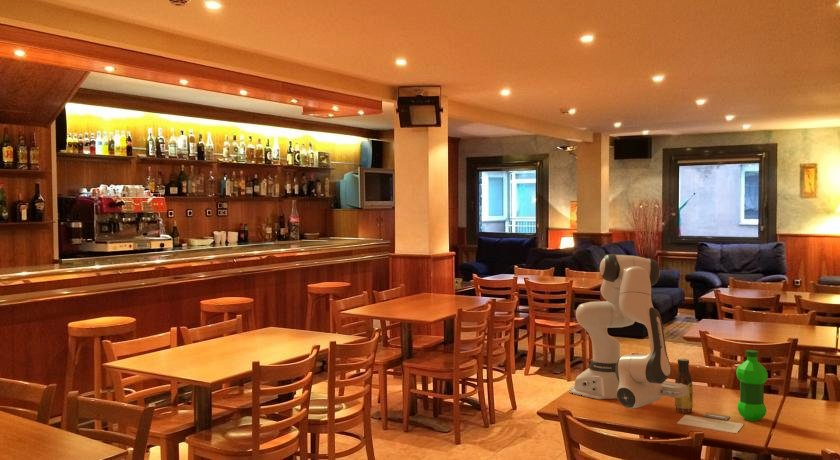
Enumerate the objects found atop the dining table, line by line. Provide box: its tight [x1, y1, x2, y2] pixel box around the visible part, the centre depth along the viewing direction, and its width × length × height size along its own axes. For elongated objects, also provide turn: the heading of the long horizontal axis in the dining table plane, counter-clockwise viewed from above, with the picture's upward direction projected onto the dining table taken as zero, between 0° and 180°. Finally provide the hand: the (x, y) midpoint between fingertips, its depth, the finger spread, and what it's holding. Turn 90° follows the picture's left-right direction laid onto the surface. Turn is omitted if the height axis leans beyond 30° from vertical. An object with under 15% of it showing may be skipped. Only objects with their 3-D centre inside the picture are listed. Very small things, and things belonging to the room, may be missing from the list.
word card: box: [703, 412, 730, 421], centre depth 256 cm, size 8×5×1 cm, turn 54°
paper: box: [676, 414, 745, 435], centre depth 248 cm, size 20×12×1 cm, turn 54°
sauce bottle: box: [674, 358, 694, 414], centre depth 263 cm, size 7×6×20 cm
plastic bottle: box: [735, 349, 769, 422], centre depth 253 cm, size 10×10×25 cm
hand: (668, 383), depth 255 cm, fingers open, 8 cm apart
